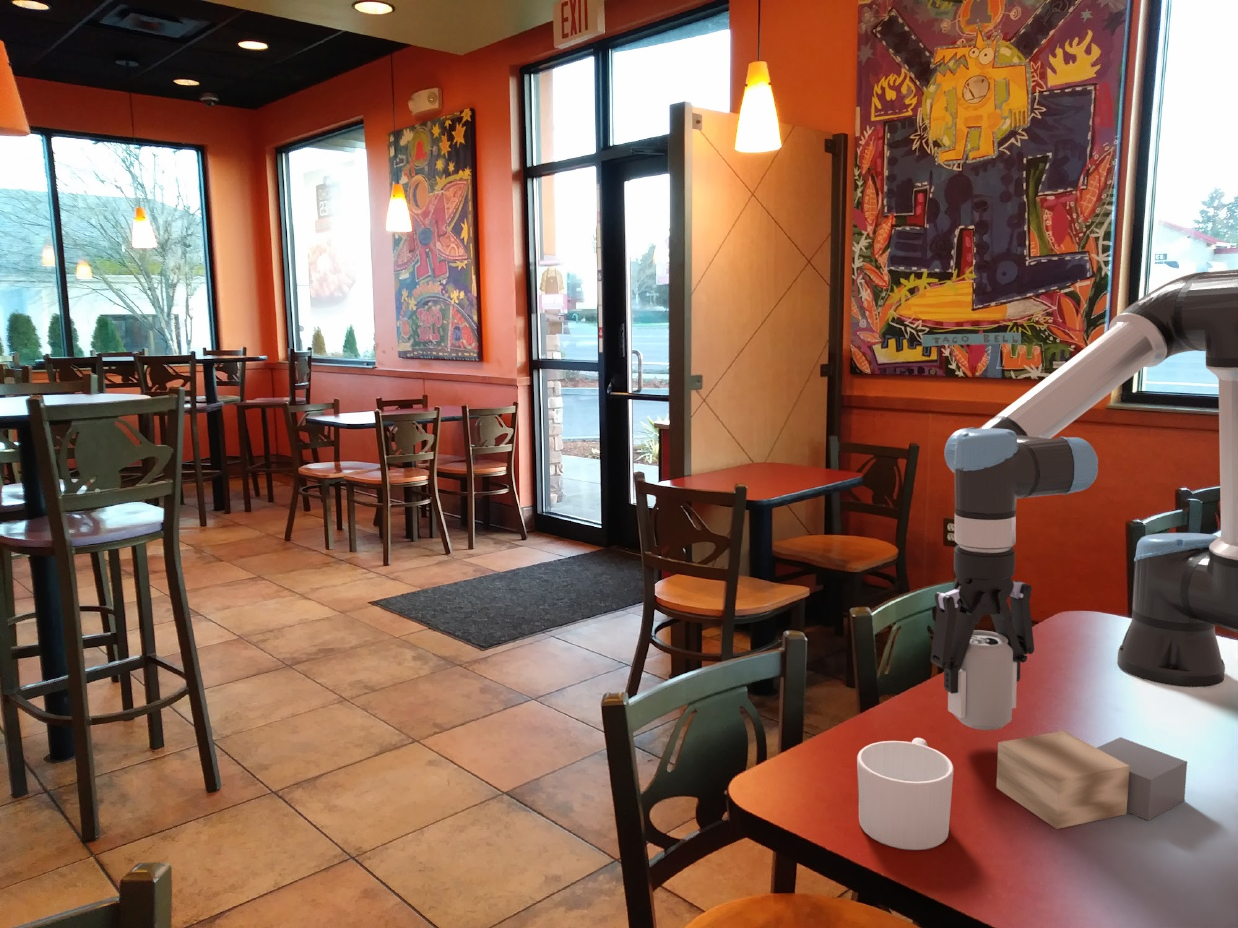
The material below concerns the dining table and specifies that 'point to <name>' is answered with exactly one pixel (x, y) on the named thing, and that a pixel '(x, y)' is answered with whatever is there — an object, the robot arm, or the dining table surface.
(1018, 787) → the birch block
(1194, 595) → the robot arm
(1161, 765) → the slate block
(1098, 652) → the dining table surface
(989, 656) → the can
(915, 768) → the mug
